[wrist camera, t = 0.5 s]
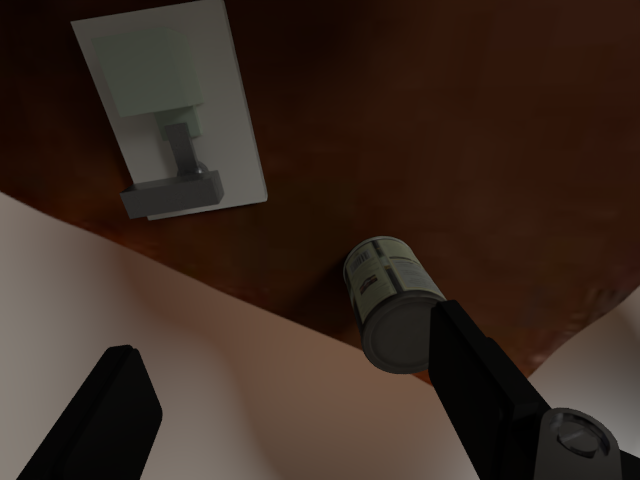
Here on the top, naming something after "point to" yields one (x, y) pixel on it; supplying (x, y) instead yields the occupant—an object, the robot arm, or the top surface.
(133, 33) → the grey stepped block
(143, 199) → the t key
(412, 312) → the coffee can
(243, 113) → the plate
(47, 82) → the top surface
